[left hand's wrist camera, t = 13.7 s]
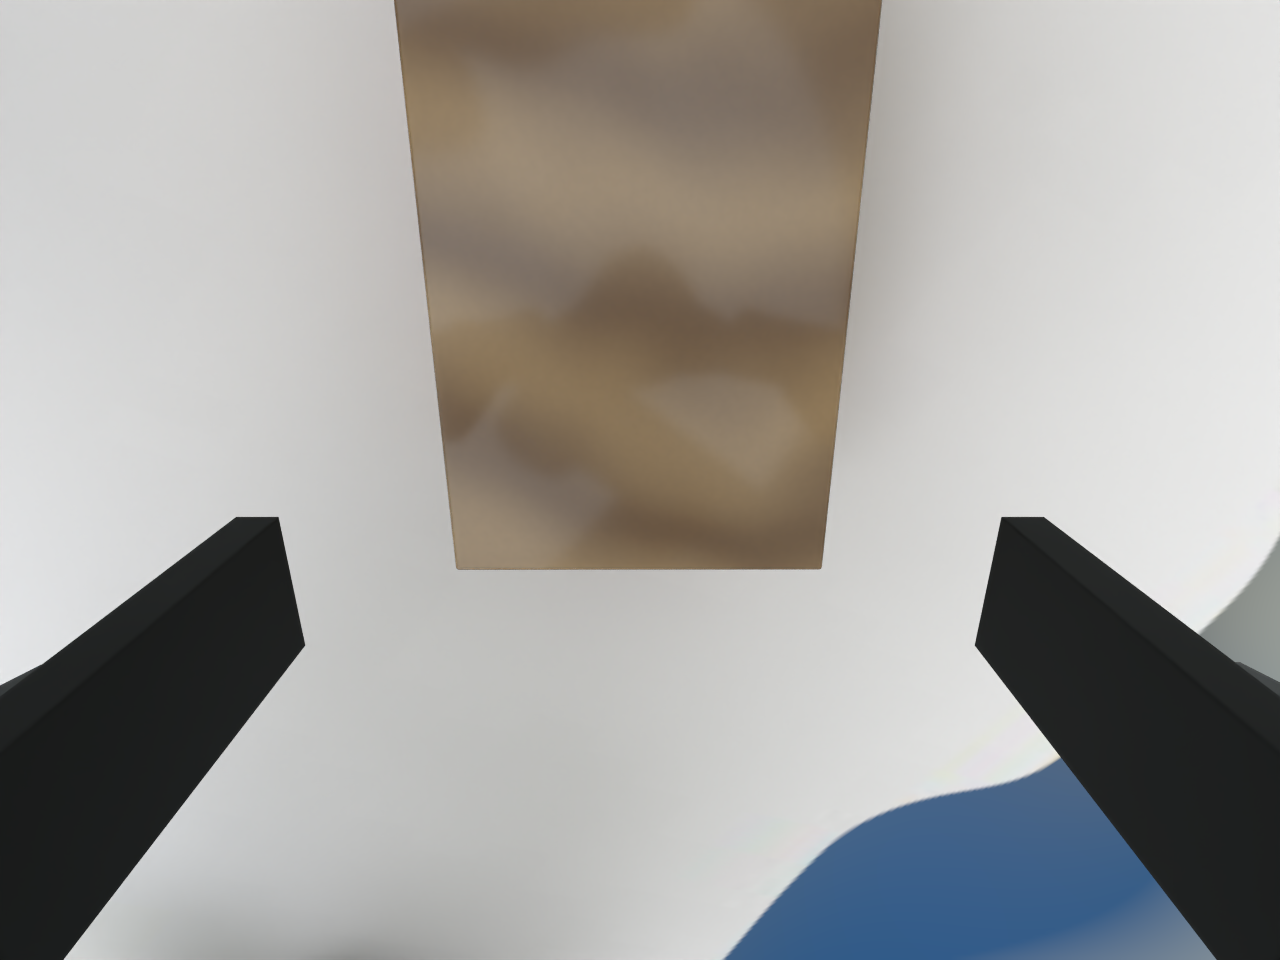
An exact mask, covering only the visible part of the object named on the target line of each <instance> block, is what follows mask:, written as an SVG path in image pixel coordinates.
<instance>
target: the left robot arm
mask: <svg viewBox="0 0 1280 960" xmlns="http://www.w3.org/2000/svg"><path fill="white" fill-rule="evenodd" d="M304 646H305V642H304V637H303V633H302V628H301V623H300V618H299V613H298V609H297V604H296V599H295V594H294V589H293V585H292V580H291V575H290V570H289V565H288V561H287V556H286V551H285V546H284V541H283V537H282V532H281V527H280V522H279V517H236V518H234V519H233V520H232V521H230V522H229V523H228V524H226V525H225V526H224V527H223V528H221V529H220V530H219V531H217V532H216V533H215V534H213V535H212V536H211V537H209V538H208V539H207V540H205V541H204V542H203V543H201V544H200V545H199V546H198V547H196V548H195V549H194V550H192V551H191V552H190V553H188V554H187V555H186V556H184V557H183V558H182V559H180V560H179V561H178V562H176V563H175V564H174V565H173V566H171V567H170V568H169V569H167V570H166V571H165V572H163V573H162V574H161V575H159V576H158V577H157V578H155V579H154V580H153V581H151V582H150V583H149V584H148V585H146V586H145V587H144V588H142V589H141V590H140V591H138V592H137V593H136V594H134V595H133V596H132V597H130V598H129V599H128V600H126V601H125V602H124V603H122V604H121V605H120V606H119V607H117V608H116V609H115V610H113V611H112V612H111V613H109V614H108V615H107V616H105V617H104V618H103V619H101V620H100V621H99V622H97V623H96V624H95V625H94V626H92V627H91V628H90V629H88V630H87V631H86V632H84V633H83V634H82V635H80V636H79V637H78V638H76V639H75V640H74V641H72V642H71V643H70V644H69V645H67V646H66V647H65V648H63V649H62V650H61V651H59V652H58V653H57V654H55V655H54V656H53V657H51V658H50V659H49V660H47V661H46V662H45V663H44V664H42V665H40V666H38V667H36V668H34V669H32V670H30V671H28V672H26V673H24V674H22V675H20V676H18V677H16V678H14V679H12V680H10V681H8V682H6V683H4V684H2V685H0V960H63V959H64V958H65V957H66V956H67V954H68V953H69V952H70V950H71V949H72V948H73V946H74V945H75V944H76V943H77V941H78V940H79V939H80V937H81V936H82V935H83V933H84V932H85V931H86V930H87V928H88V927H89V926H90V924H91V923H92V922H93V920H94V919H95V918H96V917H97V915H98V914H99V913H100V911H101V910H102V909H103V907H104V906H105V905H106V904H107V902H108V901H109V900H110V898H111V897H112V896H113V894H114V893H115V892H116V891H117V889H118V888H119V887H120V885H121V884H122V883H123V881H124V880H125V879H126V878H127V876H128V875H129V874H130V872H131V871H132V870H133V868H134V867H135V866H136V865H137V863H138V862H139V861H140V859H141V858H142V857H143V855H144V854H145V853H146V852H147V850H148V849H149V848H150V846H151V845H152V844H153V842H154V841H155V840H156V839H157V837H158V836H159V835H160V833H161V832H162V831H163V829H164V828H165V827H166V826H167V824H168V823H169V822H170V820H171V819H172V818H173V816H174V815H175V814H176V813H177V811H178V810H179V809H180V807H181V806H182V805H183V803H184V802H185V801H186V800H187V798H188V797H189V796H190V794H191V793H192V792H193V790H194V789H195V788H196V787H197V785H198V784H199V783H200V781H201V780H202V779H203V778H204V776H205V775H206V774H207V772H208V771H209V770H210V768H211V767H212V766H213V765H214V763H215V762H216V761H217V759H218V758H219V757H220V755H221V754H222V753H223V752H224V750H225V749H226V748H227V746H228V745H229V744H230V742H231V741H232V740H233V739H234V737H235V736H236V735H237V733H238V732H239V731H240V729H241V728H242V727H243V726H244V724H245V723H246V722H247V720H248V719H249V718H250V716H251V715H252V714H253V713H254V711H255V710H256V709H257V707H258V706H259V705H260V703H261V702H262V701H263V700H264V698H265V697H266V696H267V694H268V693H269V692H270V690H271V689H272V688H273V687H274V685H275V684H276V683H277V681H278V680H279V679H280V677H281V676H282V675H283V674H284V672H285V671H286V670H287V668H288V667H289V666H290V664H291V663H292V662H293V661H294V659H295V658H296V657H297V655H298V654H299V653H300V651H301V650H302V649H303V648H304ZM975 646H976V648H977V649H978V650H979V651H980V653H981V654H982V655H983V657H984V658H985V659H986V661H987V662H988V663H989V664H990V666H991V667H992V668H993V670H994V671H995V672H996V674H997V675H998V676H999V677H1000V679H1001V680H1002V681H1003V683H1004V684H1005V685H1006V687H1007V688H1008V689H1009V690H1010V692H1011V693H1012V694H1013V696H1014V697H1015V698H1016V700H1017V701H1018V702H1019V703H1020V705H1021V706H1022V707H1023V709H1024V710H1025V711H1026V713H1027V714H1028V715H1029V716H1030V718H1031V719H1032V720H1033V722H1034V723H1035V724H1036V726H1037V727H1038V728H1039V729H1040V731H1041V732H1042V733H1043V735H1044V736H1045V737H1046V739H1047V740H1048V741H1049V742H1050V744H1051V745H1052V746H1053V748H1054V749H1055V750H1056V752H1057V753H1058V754H1059V755H1060V757H1061V758H1062V759H1063V761H1064V762H1065V763H1066V764H1067V766H1068V767H1069V768H1070V770H1071V771H1072V772H1073V774H1074V775H1075V776H1076V777H1077V779H1078V780H1079V781H1080V783H1081V784H1082V785H1083V787H1084V788H1085V789H1086V790H1087V792H1088V793H1089V794H1090V796H1091V797H1092V798H1093V800H1094V801H1095V802H1096V803H1097V805H1098V806H1099V807H1100V809H1101V810H1102V811H1103V813H1104V814H1105V815H1106V816H1107V818H1108V819H1109V820H1110V822H1111V823H1112V824H1113V826H1114V827H1115V828H1116V829H1117V831H1118V832H1119V833H1120V835H1121V836H1122V837H1123V839H1124V840H1125V841H1126V842H1127V844H1128V845H1129V846H1130V848H1131V849H1132V850H1133V851H1134V853H1135V854H1136V855H1137V857H1138V858H1139V859H1140V861H1141V862H1142V863H1143V865H1144V866H1145V867H1146V868H1147V870H1148V871H1149V872H1150V874H1151V875H1152V876H1153V878H1154V879H1155V880H1156V881H1157V883H1158V884H1159V885H1160V887H1161V888H1162V889H1163V891H1164V892H1165V893H1166V894H1167V896H1168V897H1169V898H1170V900H1171V901H1172V902H1173V904H1174V905H1175V906H1176V907H1177V909H1178V910H1179V911H1180V913H1181V914H1182V915H1183V917H1184V918H1185V919H1186V920H1187V922H1188V923H1189V924H1190V926H1191V927H1192V928H1193V930H1194V931H1195V932H1196V933H1197V935H1198V936H1199V937H1200V939H1201V940H1202V941H1203V943H1204V944H1205V945H1206V946H1207V948H1208V949H1209V950H1210V952H1211V953H1212V954H1213V955H1214V957H1215V958H1216V959H1217V960H1280V682H1278V681H1276V680H1274V679H1272V678H1270V677H1268V676H1266V675H1264V674H1262V673H1260V672H1258V671H1256V670H1254V669H1252V668H1250V667H1248V666H1246V665H1244V664H1242V663H1240V662H1234V661H1233V660H1231V659H1230V658H1229V657H1227V656H1226V655H1225V654H1223V653H1222V652H1221V651H1219V650H1218V649H1217V648H1215V647H1214V646H1213V645H1211V644H1210V643H1209V642H1208V641H1206V640H1205V639H1204V638H1202V637H1201V636H1200V635H1198V634H1197V633H1196V632H1194V631H1193V630H1192V629H1190V628H1189V627H1188V626H1186V625H1185V624H1184V623H1183V622H1181V621H1180V620H1179V619H1177V618H1176V617H1175V616H1173V615H1172V614H1171V613H1169V612H1168V611H1167V610H1165V609H1164V608H1163V607H1161V606H1160V605H1159V604H1158V603H1156V602H1155V601H1154V600H1152V599H1151V598H1150V597H1148V596H1147V595H1146V594H1144V593H1143V592H1142V591H1140V590H1139V589H1138V588H1136V587H1135V586H1134V585H1132V584H1131V583H1130V582H1129V581H1127V580H1126V579H1125V578H1123V577H1122V576H1121V575H1119V574H1118V573H1117V572H1115V571H1114V570H1113V569H1111V568H1110V567H1109V566H1107V565H1106V564H1105V563H1104V562H1102V561H1101V560H1100V559H1098V558H1097V557H1096V556H1094V555H1093V554H1092V553H1090V552H1089V551H1088V550H1086V549H1085V548H1084V547H1082V546H1081V545H1080V544H1079V543H1077V542H1076V541H1075V540H1073V539H1072V538H1071V537H1069V536H1068V535H1067V534H1065V533H1064V532H1063V531H1061V530H1060V529H1059V528H1057V527H1056V526H1055V525H1054V524H1052V523H1051V522H1050V521H1048V520H1047V519H1046V518H1044V517H1001V522H1000V527H999V532H998V537H997V541H996V546H995V551H994V556H993V561H992V565H991V570H990V575H989V580H988V585H987V589H986V594H985V599H984V604H983V609H982V613H981V618H980V623H979V628H978V633H977V637H976V642H975Z"/></svg>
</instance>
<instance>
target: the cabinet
mask: <svg viewBox="0 0 1280 960" xmlns="http://www.w3.org/2000/svg"><path fill="white" fill-rule="evenodd" d="M394 5H395V14H396V23H397V33H398V42H399V51H400V60H401V69H402V78H403V87H404V96H405V106H406V115H407V124H408V133H409V142H410V151H411V160H412V169H413V179H414V188H415V197H416V206H417V215H418V224H419V233H420V242H421V252H422V261H423V270H424V279H425V288H426V297H427V306H428V315H429V325H430V334H431V343H432V352H433V361H434V370H435V379H436V388H437V398H438V407H439V416H440V425H441V434H442V443H443V452H444V461H445V471H446V480H447V489H448V498H449V507H450V516H451V525H452V534H453V544H454V553H455V562H456V568H457V569H459V570H537V569H821V567H822V560H823V550H824V541H825V532H826V522H827V513H828V503H829V494H830V485H831V475H832V466H833V457H834V447H835V438H836V428H837V419H838V410H839V400H840V391H841V382H842V372H843V363H844V353H845V344H846V335H847V325H848V316H849V307H850V297H851V288H852V278H853V269H854V260H855V250H856V241H857V232H858V222H859V213H860V203H861V194H862V185H863V175H864V166H865V157H866V147H867V138H868V128H869V119H870V110H871V100H872V91H873V82H874V72H875V63H876V53H877V44H878V35H879V25H880V16H881V7H882V0H394Z"/></svg>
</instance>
